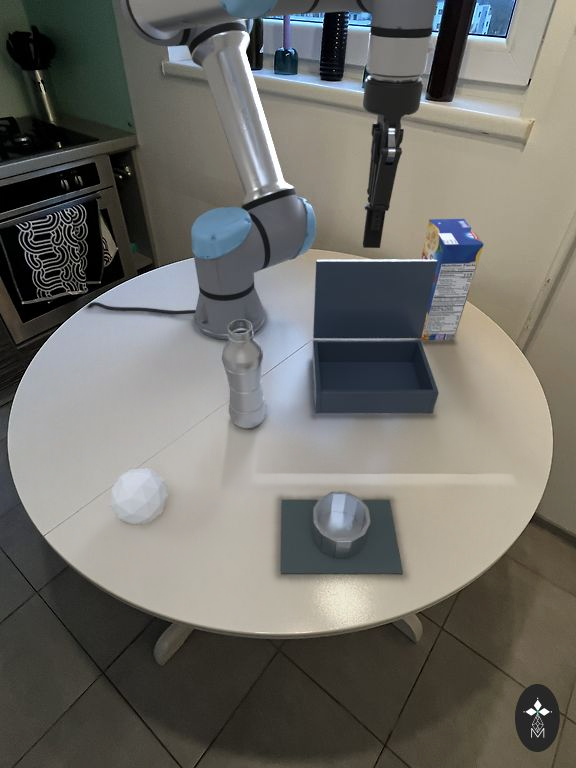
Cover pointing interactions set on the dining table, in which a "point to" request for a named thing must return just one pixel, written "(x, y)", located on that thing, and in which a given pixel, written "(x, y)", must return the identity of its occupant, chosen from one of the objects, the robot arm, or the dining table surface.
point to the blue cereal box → (449, 274)
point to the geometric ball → (138, 496)
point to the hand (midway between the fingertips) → (371, 245)
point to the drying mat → (308, 559)
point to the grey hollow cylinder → (340, 524)
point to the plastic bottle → (244, 375)
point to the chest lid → (372, 298)
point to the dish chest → (372, 377)
